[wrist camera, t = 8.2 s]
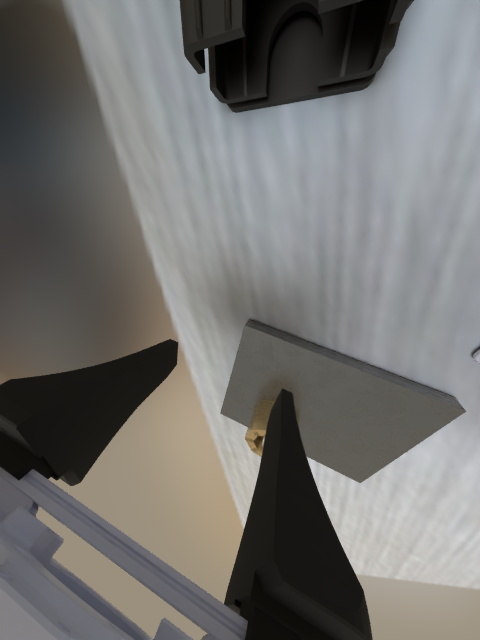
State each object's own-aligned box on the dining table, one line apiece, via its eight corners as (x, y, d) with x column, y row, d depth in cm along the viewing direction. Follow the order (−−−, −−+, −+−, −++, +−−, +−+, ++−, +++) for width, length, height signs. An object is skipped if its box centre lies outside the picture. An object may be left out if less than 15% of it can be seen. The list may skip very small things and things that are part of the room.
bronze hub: (305, 415, 22) (303, 450, 18) (285, 435, 25) (280, 468, 21) (265, 393, 22) (257, 422, 19) (250, 414, 25) (240, 444, 22)
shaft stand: (454, 397, 17) (508, 463, 12) (358, 470, 25) (368, 525, 20) (249, 319, 20) (230, 346, 16) (224, 405, 29) (207, 439, 24)
